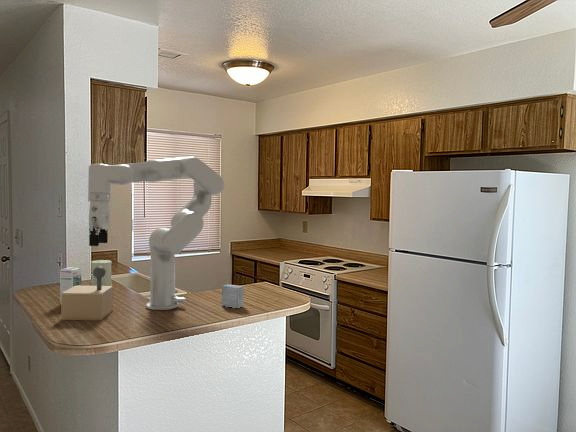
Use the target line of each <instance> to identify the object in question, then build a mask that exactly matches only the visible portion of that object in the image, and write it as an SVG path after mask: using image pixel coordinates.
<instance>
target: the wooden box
mask: <svg viewBox="0 0 576 432" xmlns="http://www.w3.org/2000/svg"><path fill="white" fill-rule="evenodd" d="M113 294H114V287H113V288H112V289H110V290H109V291H107V292H106V293H104V294H103V295H61V303H60V307H61V308H60V309H61V315H60V316H61V320H62V321H65V320H68V321H69V320H70V321H76V320H77V321H102V320H104V319H105V318H106V317H107V316H108V315H109V314H111V313H112V312H113V311H114V310H113V309H114V307H113V305H114V302H113V299H114V295H113Z"/></svg>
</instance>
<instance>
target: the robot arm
mask: <svg viewBox="0 0 576 432" xmlns="http://www.w3.org/2000/svg"><path fill="white" fill-rule="evenodd" d="M87 177H88V179H87V180H88V181H87V183H88V184H87V187H88V188H87V190H88V192H87V194H88V195H87V201H88V202H89V210H88V231H89V232H88V236H89V237H88V239H89V240H88V241H89V243H88V245H89V246H90V247H98V246H100V244H107V243H108V241H109V239H108V232H109V231H108V230H109V228H110V227H111V210H110V208H111V207H110V203H111V184H112V185H117V186H119V185H120V186H124V185H128V184H132V183H142V182H144V183H145V182H147V183H155V182H165V181H175V180H182V179H191V180H193V196H192V198H191V199H190V200H189V201H188V202H187V203H186V204H185V205H184V206H183V207H181V209H179V211H177V212H176V213H175V214H174V215H173V216H172V217H171V220H170V227H171V228H166V227H160V228H156V229H154V230H153V231H152V232H151V234H150V235H149V238H148V246H149V255H150V284H149V285H150V287H149V289H150V291H149V292H150V293H149V295H150V296H149V298H150V299H149V302H147V303H146V304H145V306H146V307H145V308H146V309H148V310H151V311H152V310H153V311H168V310H173V309H177V308H178V307H179V305H180V303H181V304H186V300H187V299H186V297H183V296H182V297H179V296H178V295H177V293H176V256H175V255H177V254H179V253H180V252H182V251H183V250H184V249H185V248H186V247H187V246H188V245H189V244H191V243H192V242H193V241H194V240H195V239H196V238H197V237H198V236H199V235H200V234H201V232H202V230H203V228H204V224H205V223H204V217H205V216H206V215H207V214H208V212H209V211H210V210H211V209H210V208H211V206H212V202H213V201H212V197H213V196H216V195H219V194H220V193H222V192H223V190H224V188H225V181H224V178H222V176H221V175H220V174H219V173H218V172H216V171H215V170H214V169H212V168H211V167H210V166H209V165H208V164H206V163H205V162H204V161H202V160H201V159H200V158H198V157H195V156H185V157H173V158H163V159H154V160H153V159H151V160H146V161H143V162H133V163H125V164H123V163H122V164H114V165H113V164H112V165H111V164H110V165H109V164H106V163H105V164H104V163H91V164H90V165H89V166H88V176H87Z"/></svg>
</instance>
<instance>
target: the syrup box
mask: <svg viewBox="0 0 576 432" xmlns="http://www.w3.org/2000/svg"><path fill="white" fill-rule="evenodd" d="M74 286H82V267H78V266H77V267H76V266H72V267H66V268H61V269H59V289H60V294H59V295H60V298H59V299H60V302H59V303H60V304H61V293H62V292H64V291H66V290H68V289H70V288H72V287H74Z"/></svg>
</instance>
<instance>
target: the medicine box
mask: <svg viewBox="0 0 576 432" xmlns="http://www.w3.org/2000/svg"><path fill="white" fill-rule="evenodd" d="M244 288H245V287H244V286H243V285H238V284H237V285H236V284H228V283H227V284H224V285H222V286H221V307H222V306H225V307H224V308H228V307H233V308H232V309H235V308H240V307H242V306H243V307H244V302H245V300H244V295H245V294H244V293H245V292H244ZM243 307H242V308H243ZM240 309H241V308H240Z"/></svg>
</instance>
